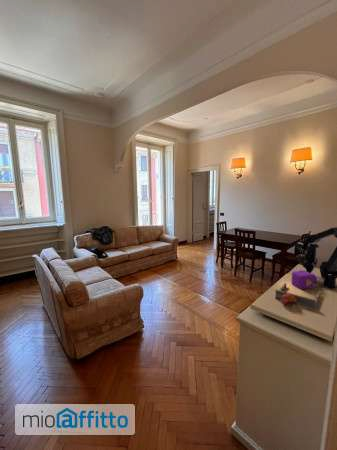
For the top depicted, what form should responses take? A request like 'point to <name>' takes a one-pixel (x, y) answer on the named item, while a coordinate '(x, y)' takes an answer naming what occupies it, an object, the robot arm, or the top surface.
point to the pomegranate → (288, 299)
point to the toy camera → (303, 279)
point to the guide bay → (299, 298)
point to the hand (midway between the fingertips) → (309, 273)
